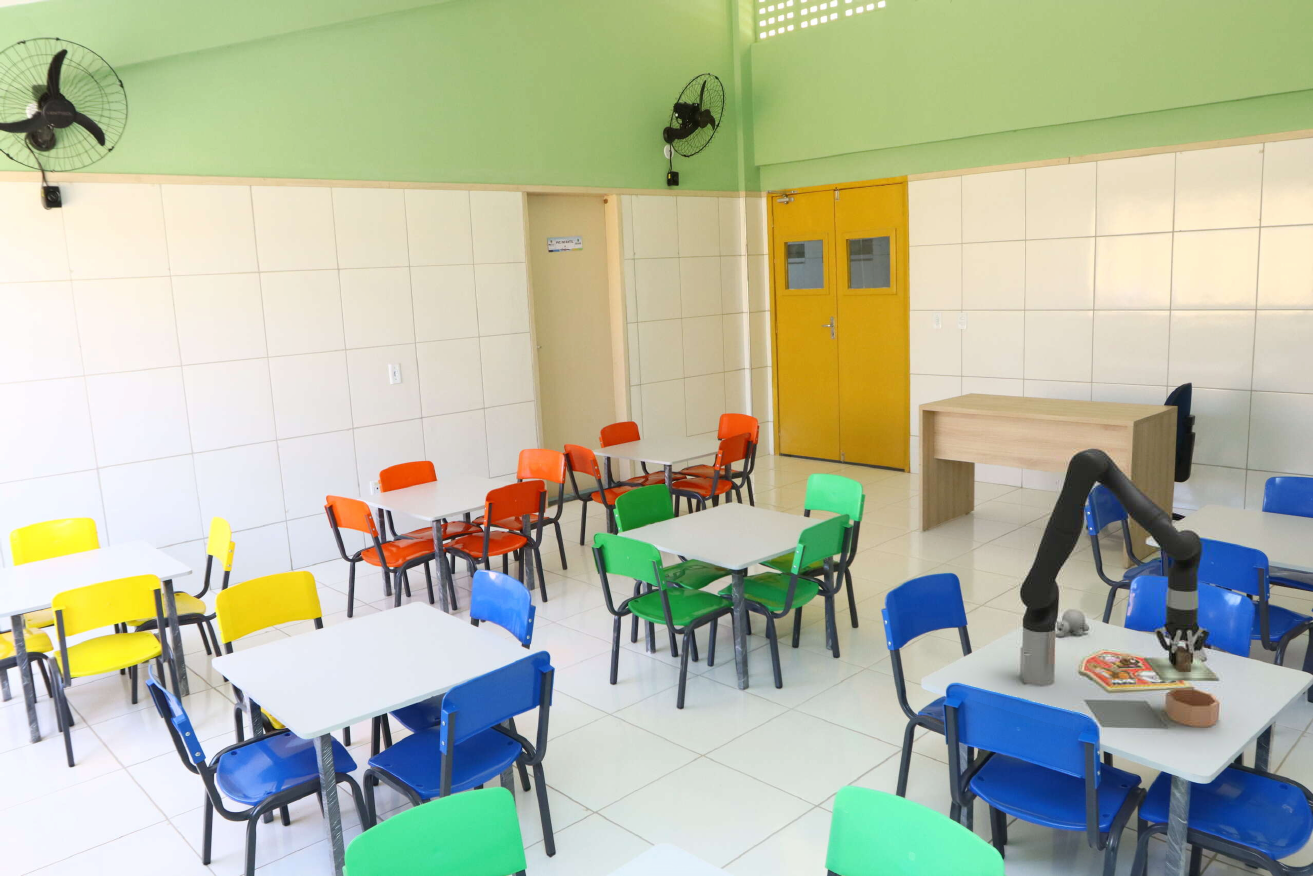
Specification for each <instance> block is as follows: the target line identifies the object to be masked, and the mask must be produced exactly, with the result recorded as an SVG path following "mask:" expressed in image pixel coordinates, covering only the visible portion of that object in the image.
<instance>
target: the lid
mask: <svg viewBox="0 0 1313 876" xmlns="http://www.w3.org/2000/svg"><path fill="white" fill-rule="evenodd" d="M1144 660H1145V662H1146V663H1147V664H1148V665H1149V666H1150V667H1151V668H1152V670H1153V671H1154V672H1155V673H1156V674H1157V675H1158V676H1159V678H1160V679H1161V680H1162V681H1188V682H1192V681H1193V682H1220V677H1218V676H1217V674H1215V673H1214V671H1212V670H1211V669H1210V667H1208V666H1207V664H1205V663H1204V661H1201V660H1200V659H1199V658H1193V663H1192V664H1191V654H1190V653H1189V652H1188V651H1187V650H1186V649H1185V646H1183V645H1178V646H1177V650H1176V666H1175V665H1172V664H1171V662H1170V661H1169V657H1147V658H1144Z"/></svg>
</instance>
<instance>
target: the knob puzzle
mask: <svg viewBox="0 0 1313 876" xmlns="http://www.w3.org/2000/svg"><path fill="white" fill-rule="evenodd" d="M1144 658H1148V657H1147V656H1144V655H1138V654H1132V653H1128V652H1121V651H1114V650H1108V649H1101V650H1098V651H1096V652H1093V653H1091V654H1089V655H1086V656H1085V657H1084V658H1082V659H1081V661H1080V665H1079V669H1078V675H1080V676H1082V677H1086V678H1088V679H1089V680H1090V681H1092V682H1094V683H1095V684H1096V685H1097V686H1099V687H1100V688H1101V689H1103V691H1105V692H1106V693H1108V694H1117V693H1119V694H1120V693H1137V692H1138V693H1139V692H1154V691H1156V692H1158V691H1171V690H1173V689H1174V688H1183V689H1195V686H1194V685H1193V684H1191V682H1190V681H1162V680H1161V679H1160V678H1159V676H1158V675H1157V674H1156V673H1155V672H1154V671H1153V670H1152V668H1151V667H1150V666H1149V665H1148V664H1147V663H1146V662H1145V660H1144Z"/></svg>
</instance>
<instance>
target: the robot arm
mask: <svg viewBox="0 0 1313 876" xmlns="http://www.w3.org/2000/svg"><path fill="white" fill-rule="evenodd" d="M1066 470H1067V471H1066V473H1065V478H1064V481H1063V486H1062V489H1061V492H1060V493H1059V496H1058V498H1057V501H1056V502H1055V504H1054V508H1053V510H1052V513H1051V515H1050V517H1049V519H1048V521H1047V524H1046V526H1045V530H1044V531H1043V535H1042V539H1041V540H1040V543H1039V546H1038V549H1037V552H1036V556H1035V559H1034V561H1033V563H1032V566H1031V568H1030V570H1029V571H1028V573H1027V575H1026V578H1025V579H1024V581H1023V583H1022V585H1021V586H1020V591H1019V596H1020V600H1021V602H1022V604H1023V605H1024V606H1025V607H1026V610H1025V613H1024V614H1023V618H1022V643H1021V644H1022V647H1020V656H1019V657H1020V658H1019V659H1020V660H1019V661H1020V664H1019V665H1020V666H1019V667H1020V668H1019V670H1020V672H1019V677H1020V679H1021V680H1022V682H1023V684H1024V685H1032V686H1036V687H1037V686H1038V687H1049V686H1052V685H1053V684H1054V683H1055V675H1056V674H1055V668H1056V667H1055V666H1056V660H1055V659H1056V654H1055V653H1056V633H1055V630H1056V628H1057V626H1056V625H1057V622H1056V621H1058V617H1059V605H1060V604H1059V603H1060V589H1059V588H1060V587H1059V585H1058V582H1057V581H1056V580H1057V577H1058V574H1059V573H1060V570H1061V569H1062V567H1063V566H1064V565H1065V563H1066V562H1067V560H1068V559H1069V557H1070V555H1071V554H1072V553H1073V551H1074V550H1075V548H1076V546H1077V544H1078V541H1079V539H1080V536H1081V534H1082V531H1083V528H1084V524H1085V510H1086V509H1085V508H1086V503H1087V501H1088V497H1089V496H1090V494H1091V492H1092V489H1093V487H1094V486H1095V484H1096V483H1098V484H1099V485H1101V486H1103V487H1104V488H1106V489H1107V490H1108V491H1109V492H1110V493H1112V495H1113V496H1114V497H1115V498H1116V500H1117V501H1118V502H1119V503H1120V504H1121V506H1122V508H1123V509H1124V511H1125V512H1126V513H1127V515H1129V517H1130V518H1131V519H1132V520H1133V521H1135V523H1137V524H1138V525H1139V526H1140V527H1141V528H1142V529H1143V530H1145V531H1146V532H1148V533H1149V535H1150V536H1151V538H1152V539H1153V540H1154V542H1156V544H1157V545H1158V547H1160V549H1161V550H1162V551H1163V552H1164V554H1166V555H1167V556H1168V557H1170V558H1171V559H1172V564H1171V566H1170V567H1169V568H1168V572H1167V591H1166V599H1165V605H1166V606H1165V610H1166V611H1165V620H1166V621H1165V623H1164V624H1163V625H1164V626H1163V627H1160V628H1158V627H1156V628H1154V629H1153V631H1154V634H1155V636H1156V638H1157V640H1158V642H1159V644H1160V646H1161V648H1162V649H1164V650H1165V651H1168V658H1169V661H1170V662H1171V664H1172V665H1175V666H1176V650H1177V646H1180V645H1179V644H1180V641H1181V642H1182V641H1184V644H1185V646H1186V650H1187V651H1188V652H1189V653H1190V654H1191V664H1192V663H1193V652H1194V651H1197V650H1198V651H1200V650H1201V649H1202V647H1203V648H1204V645H1205V642H1206V641H1207V639H1208V637H1209V635H1210V632H1209V631H1208V629H1206V628H1204V627H1203V628H1202V627H1200V625H1199V624H1198V623H1199V622H1198V620H1199V619H1198V617H1199V593H1198V581H1199V580H1198V572H1199V567H1200V563H1201V558H1202V552H1203V545H1202V540H1201V537H1200V536H1199V534H1197V533H1196V532H1195V531H1193V530H1190V529H1184V530H1180V531H1179V530H1178V529H1177V528H1176V526H1174V525H1173V524H1172V521H1173V519H1172V517H1171V516H1170V515H1169V514H1168V513H1167V512H1166V511H1165V510H1163V508H1161V507H1160V506H1159V505H1158V504H1157V503H1155V502H1154V501H1153V500H1152V499H1150V498H1149V496H1147V495H1146V494H1145V493H1144V492H1143V491H1141V489H1139V487H1138V486H1136V484H1134V483H1133V482H1132V481H1131V480H1130V479H1129V477H1127V476H1126V474H1125V473H1124V472H1123V471H1122V470H1121V469H1120V468H1119V466H1118V465H1117V464H1116V463H1115V462H1114V461H1113V459H1112V458H1111V457H1110V455H1108V454H1107V453H1106V452H1105V451H1104V450H1101V449H1098V448H1089V449H1085V450H1082V451H1079V452H1077V453H1075V454H1074V455H1073V456H1072V457H1071V459H1070V461H1069V463H1068V465H1067V469H1066ZM1166 632H1167V633H1168V635H1169V638H1168V639H1169V640H1168V642H1169V643H1167V640H1166V638H1165V636H1166ZM1197 632H1198V637H1197V638H1196V640H1195V642H1194V643H1193V636H1194V635H1195V634H1196V633H1197Z"/></svg>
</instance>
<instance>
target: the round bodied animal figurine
mask: <svg viewBox="0 0 1313 876" xmlns="http://www.w3.org/2000/svg"><path fill="white" fill-rule="evenodd" d="M1089 630H1090V626H1089V624H1088V623H1086V617H1085V615H1084V614H1083V612H1082V611H1080V610H1078V609H1075V608H1074V609H1073V608H1072V609H1070V608H1069V609H1068V610H1066V611H1065V612H1063V614H1062V617H1061V621H1059V620H1057V621H1056V629H1055V636H1057V637H1059V638H1064V636H1065V635H1066V634H1067V633H1069V634H1074V635H1075V636H1076V637H1080V636H1082V635H1083V632H1084V633H1085V632H1088V631H1089Z"/></svg>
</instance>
